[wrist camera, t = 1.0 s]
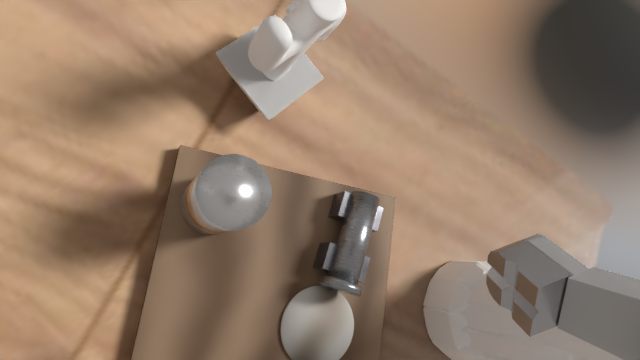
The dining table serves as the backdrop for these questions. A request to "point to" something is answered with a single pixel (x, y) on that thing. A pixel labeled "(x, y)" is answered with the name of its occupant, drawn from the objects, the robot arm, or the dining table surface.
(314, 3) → the white peg on base
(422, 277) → the dining table surface
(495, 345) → the decorative vase
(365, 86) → the dining table surface
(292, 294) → the walnut base board
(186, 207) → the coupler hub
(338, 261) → the steel shaft
